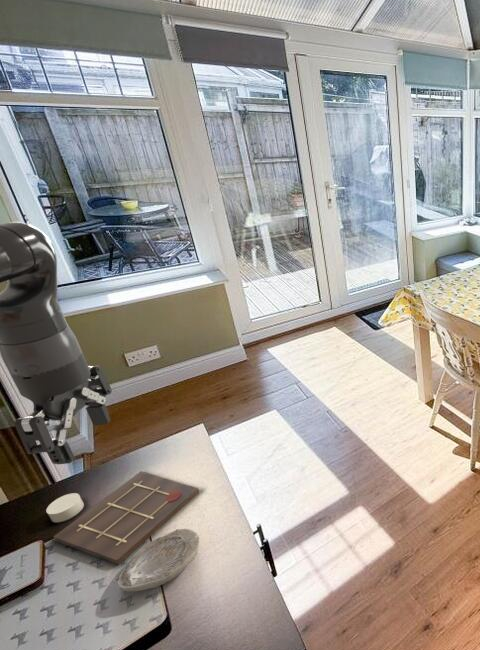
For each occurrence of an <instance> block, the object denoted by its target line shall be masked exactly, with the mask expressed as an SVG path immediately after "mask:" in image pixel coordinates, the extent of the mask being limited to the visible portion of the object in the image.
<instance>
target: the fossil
mask: <svg viewBox="0 0 480 650" xmlns="http://www.w3.org/2000/svg"><path fill="white" fill-rule="evenodd" d="M199 545H200V536H199V534H198V533H197V532H196V531H194V530H191V529H190V528H176V529H175V530H173V531H171V532H169V533H167V534H165V535H162V536H159V537H157V538H156V539H153V540H151V541H149V542H148V543H146V544H145V545H143V546H142V547H141V548H139V550H138V551H137V552H136V553H134V554H133V556H132V557H131V558H130V560H129V561H128V563H127V564H126V565H125V567H124V568H123V570H122V571H121V573H120V574H119V577H118V581H117V584H118V587H119V588H120V589H121V590H122V591H124V592H141V591H145V590H150V589H153V588H156V587H160V586H161V585H162V586H163V585H165V584H166V583H168V582H169V581H171V580H173V579H174V578H175V577H178V575H180V573H182V572H183V571H184V569H186V568H187V567H188V566H189V565H190V564H191V563H192V562H193V561H194V559H195V558H196V557H197V555H198V551H199Z"/></svg>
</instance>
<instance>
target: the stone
mask: <svg viewBox="0 0 480 650" xmlns="http://www.w3.org/2000/svg"><path fill="white" fill-rule="evenodd" d="M84 506H85V503H84V501H83V499H82V497H81V495H80V493H76V492H73V493H72V492H71V493H67V494H64V495H62V496H60V497H58V498H56V499H55V500H54V501H51V503H50V504H48V506H47V508H46V510H45V511H46V514H47V515H48V517H49V519H50V521H51V522H52V523H61V522H65V521H69V520H70V519H72V518H74V517H75V516H77V515H78V514H79V513H81V511H82V510H83V509H84Z"/></svg>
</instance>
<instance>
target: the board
mask: <svg viewBox="0 0 480 650" xmlns="http://www.w3.org/2000/svg"><path fill="white" fill-rule="evenodd" d="M199 493H200V489H199V488H198V487H195V486H192V485H189V484H186V483H182V482H179V481H176V480H172V479H170V478H166V477H162V476H159V475H156V474H153V473H149V472H145V471H143V470H141V471H139V472H138V473H137V474H135V475H134V476H133V477H131V478H130V479H129V480H126V482H125V483H123V484H122V485H120V486H119V487H118V488H116V489H115V490H114V491H112V492H111V493H110V494H108V495H107V496H106V497H104V498H103V499H101V501H99V502H98V503H96V504H95V505H94V506H92V507H91V508H89V509H88V510H87V511H86V512H85V513H83V514H81V516H78V517H77V518H76V519H75V520H74V521H72V522H71V523H70V524H67V526H66V527H64V528H63V529H61V530H60V531H59V532H58V533H56V534H55V535H54V536H53V539H54V541H55V542H57V543H60V544H62V545H66V546H69V547H70V548H74V549H76V550H79V551H82V552H84V553H86V554H90V555H92V556H95V557H97V558H100V559H103V560H106V561H109V562H111V563H114V564H117V565H121V563H123V561H125V560H126V559H127V558H128V557H129V556H130V555H131V554H133V553H134V552H135V551H136V550H137V549H138V548H139V547H140V546H141V545H142V544H144V543H145V542H146V541H147V540H148V539H150V538H151V536H152V535H154V534H155V533H156V532H157V531H158V530H160V528H161V527H162V526H164V525H165V524H166V523H167V522H168V521H169V520H170V519H171V518H172V517H174V516H175V515H176V514H177V513H178V512H179V511H181V509H183V508H184V507H185V506H186V505H187V504H188V503H189V502H190V501H191V500H193V499H194V498H195V497H196V496H197V495H198V494H199Z"/></svg>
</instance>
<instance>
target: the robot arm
mask: <svg viewBox="0 0 480 650" xmlns="http://www.w3.org/2000/svg"><path fill="white" fill-rule="evenodd" d="M55 249H56V248H55V247H54V245H53V243H52V242H51V240H50V239H49V237H48V236H47V235H46V234H45V233H44V232H43V231H41V229H39V228H37V227H36V226H33V225H32V224H29V223H25V222H20V221H11V222H5V223H1V224H0V284H1V283H4V282H6V281H7V284H6V287H5V288H4V289H3V290H2V291H1V292H0V357H1V359H2V362H3V363H4V365H5V368H6V369H7V371H8V373H9V375H10V377H11V379H12V381H13V382H14V385H15V386H16V389H17V390H18V392H19V394H20V395H21V396H22V397H23V398H25V399H27V400H29V401H31V402H32V406H33V410H32V411H33V412H31V413H30V414H29V415H28V416H26V417H18V418H16V420H15V421H14V427H15V429H16V431H17V434H18V436H19V438H20V441H21V442H22V444H23V447H24V449H25V451H26V453H27V454H28V455H34V454H42V453H46V455H48V457H49V460H50V461H51V463H52V464H53V465H66V464H67V465H68V464H71V463H73V461H74V460H75V459H76V458H75V454H74V452H73V451H72V449H71V447H70V445H69V442H68V441H67V440H66V437H67V431H68V430H70V429H71V427H72V424H73V423H72V422H73V418H74V417H75V416H76V415H77V413H78V412H79V411H80V410H82V409H83V408H85V410H86V412H87V414H88V417H89V419H90V422H91V424H92V425H94V426H100V425H101V426H103V425H107V424H108V423H109V422H110V421H111V418H110V412H109V411H108V408H107V406H106V402H107V395H111V393H112V391H113V390H112V387H111V385H110V382H109V380H108V379H107V377H106V375H105V373H104V370H103V368H102V366H101V365H88V362H87V360H86V358H85V355H84V353H83V351H82V348H81V345H80V344H79V341H78V338H77V336H76V335H75V333H74V331H72V329H71V327H70V325H69V324H68V321H67V319H66V316H65V315H64V312H63V310H62V307H61V306H60V303H59V301H58V259H57V253H56V250H55ZM97 386H99V387H97ZM50 420H51V421H55V422H57V421H60V423H59V424H50ZM53 431H55V437H54V438H52V432H53ZM37 441H38V443H37Z"/></svg>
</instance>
